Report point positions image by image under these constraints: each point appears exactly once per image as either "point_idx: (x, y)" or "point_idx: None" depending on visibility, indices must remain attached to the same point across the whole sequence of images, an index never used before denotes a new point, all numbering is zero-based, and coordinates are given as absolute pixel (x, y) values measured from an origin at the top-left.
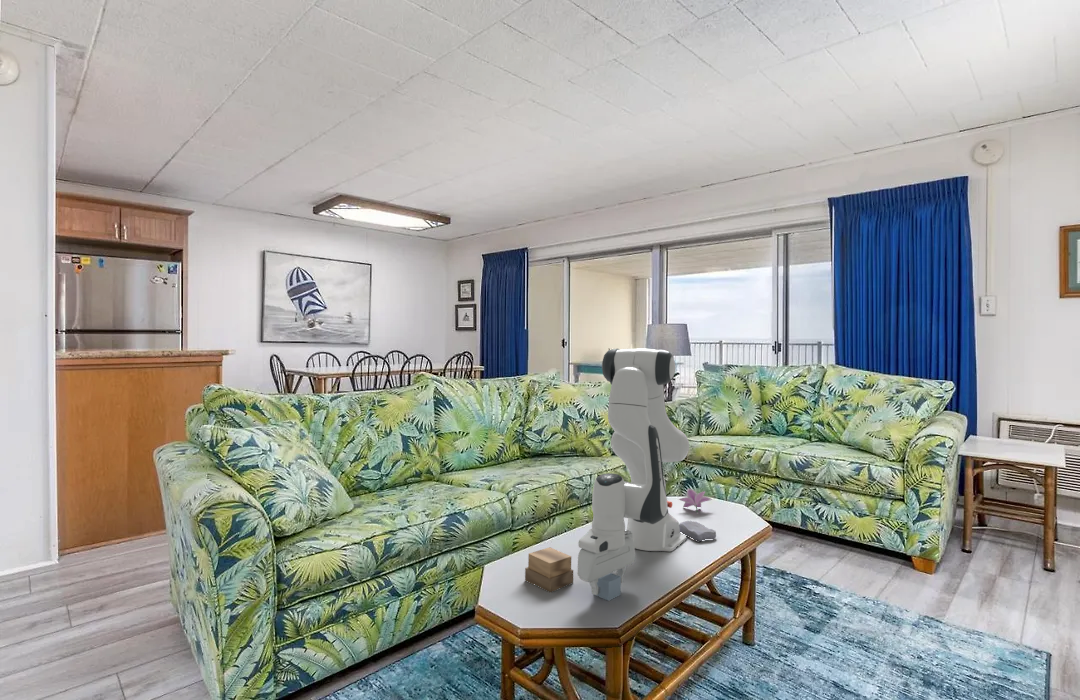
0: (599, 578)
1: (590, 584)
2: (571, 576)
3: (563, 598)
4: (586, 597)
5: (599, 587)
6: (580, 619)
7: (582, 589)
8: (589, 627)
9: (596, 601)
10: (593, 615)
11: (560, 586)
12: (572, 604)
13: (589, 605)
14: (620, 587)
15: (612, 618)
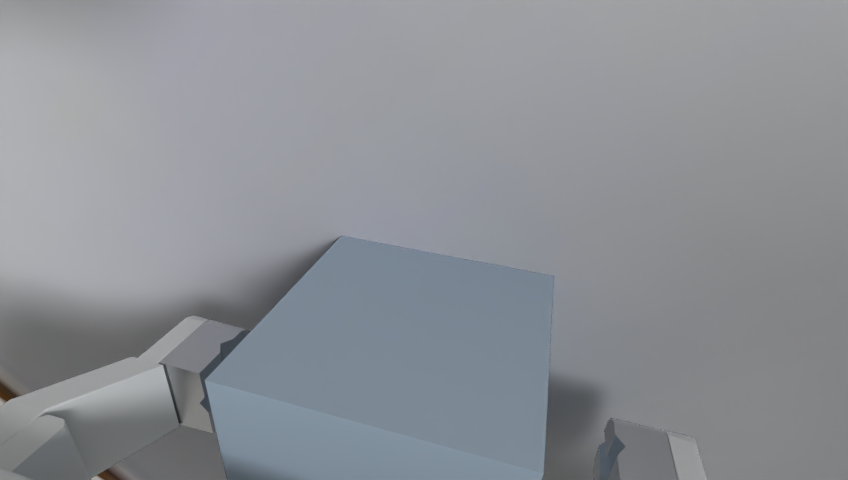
0: (225, 456)
1: (85, 379)
2: None
3: (33, 31)
4: (239, 209)
5: (199, 429)
6: (20, 333)
7: (340, 53)
8: None
9: (259, 315)
10: None
11: None
12: (59, 181)
13: (169, 300)
14: None
15: (189, 468)
